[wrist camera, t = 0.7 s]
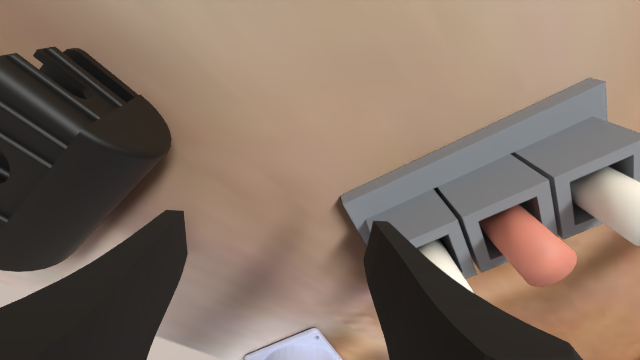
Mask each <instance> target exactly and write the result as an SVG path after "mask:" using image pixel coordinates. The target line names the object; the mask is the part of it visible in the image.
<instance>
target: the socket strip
mask: <svg viewBox="0 0 640 360" xmlns="http://www.w3.org/2000/svg"><path fill="white" fill-rule="evenodd" d="M606 166H608V167H610V168H612V169H614V170H616V171H618V172H620V173H622V174H624V175H626V176H628V177H630V178H632V179H634V180H636V181H638V182H640V133H638V132H635V131H632V130H630V129H627V128H624V127H621V126H618V125H616V124H613V123H610V122H608V120H607V98H606V82H605V81H601V80H597V79H592V78H588V79H586V80H584V81H582V82H580V83H578V84H576V85H574V86H571V87H569V88H567V89H565V90H563V91H561V92H559V93H557V94H555V95H552V96H550V97H548V98H546V99H544V100H542V101H540V102H538V103H536V104H533V105H531V106H529V107H527V108H525V109H523V110H521V111H519V112H516V113H514V114H512V115H510V116H508V117H506V118H504V119H502V120H500V121H497V122H495V123H493V124H491V125H489V126H487V127H485V128H483V129H481V130H478V131H476V132H474V133H472V134H470V135H468V136H466V137H464V138H461V139H459V140H457V141H455V142H453V143H451V144H449V145H447V146H445V147H442V148H440V149H438V150H436V151H434V152H432V153H430V154H428V155H426V156H423V157H421V158H419V159H417V160H415V161H413V162H411V163H409V164H406V165H404V166H402V167H400V168H398V169H396V170H394V171H392V172H390V173H387V174H385V175H383V176H381V177H379V178H377V179H375V180H373V181H371V182H368V183H366V184H364V185H362V186H360V187H358V188H356V189H354V190H351V191H349V192H347V193H345V194H343V195H341V199H342V203H343V206H344V207H345V209H346V211H347V213H348V214H349V216H350V218H351V220H352V221H353V223H354V225H355V227H356V228H357V230H358V232H359V234H360V235H361V237H362V239H363V241H364V242H365V244H366V246H367V244H368V240H369V236H370V232H371V228H372V223H373V221H388V222H389V223H390V224H392V225H393V226H394V227H395V228H396V229H397V230H398V231H399V232H400V233H401V234H402V235H403V236H404V237H405V238H406V239H407V240H408V241H409V242H410V243H412V244H413V245H414V246H415V247H416V248H417V247H420V246H422V245H424V244H427V243H429V242H431V241H434V240H436V239H439V240H440V241H441V243H442V244H443V246H444V247H445V249H446V250H447V252H448V253H449V255H450V257H451V258H452V260H453V261H454V263H455V264H456V266H457V267H458V269H459V270H460V272H461V274H462V275H463V277H464V278H465V279H467V278H470V277H472V276H474V275H477V273H476V270H475V267H474V264H473V262H474V263H475V265H476V266H477V267H478V269H479V270H480V271H481V273H482V272H484V271H487V270H489V269H492V268H494V267H497V266H499V265H502V264H504V263H507V262H509V261H508V260H507V259H506V258H505V256H504V255H503V254H502V253H501V252H500V251H499V249H498V248H497V247H496V246H495V245H494V244H493V242H492V241H491V240H490V239H489V238H488V237H487V236H486V234H485V233H484V232H483V231H482V230H481V228H480V224H479V222H480V220H483V219H485V218H487V217H490V216H492V215H494V214H497V213H499V212H501V211H504V210H506V209H508V208H511V207H513V206H515V205H518V204H519V205H521V206H522V207H523V208H524V209H525V210H526V211H528V212H529V213H530V214H531V215H532V216H533V217H535V218H536V219H537V220H538V221H539V222H540V223H541V224H543V225H544V226H545V227H546V228H547V229H548V230H550V231H551V232H552V233H553V234H554V235H555V236H557V237H558V235H559V236H560V237H561V238H562V239H563V240H564V239H566V238H569V237H571V236H574V235H576V234H578V233H581V232H583V231H586V230H588V229H591V228H593V227H596V226H598V225H601V224H603V223H602V222H601V221H599V220H598V219H596V218H595V217H593V216H592V215H591V214H589V213H588V212H586V211H585V210H583V209H582V208H580V207H579V206H578V205H576V204H575V203H573V202H572V198H571V190H570V182H571V181H574V180H576V179H578V178H581V177H583V176H585V175H588V174H590V173H592V172H595V171H597V170H599V169H602V168H604V167H606ZM434 189H435V190H434ZM472 260H473V262H472Z"/></svg>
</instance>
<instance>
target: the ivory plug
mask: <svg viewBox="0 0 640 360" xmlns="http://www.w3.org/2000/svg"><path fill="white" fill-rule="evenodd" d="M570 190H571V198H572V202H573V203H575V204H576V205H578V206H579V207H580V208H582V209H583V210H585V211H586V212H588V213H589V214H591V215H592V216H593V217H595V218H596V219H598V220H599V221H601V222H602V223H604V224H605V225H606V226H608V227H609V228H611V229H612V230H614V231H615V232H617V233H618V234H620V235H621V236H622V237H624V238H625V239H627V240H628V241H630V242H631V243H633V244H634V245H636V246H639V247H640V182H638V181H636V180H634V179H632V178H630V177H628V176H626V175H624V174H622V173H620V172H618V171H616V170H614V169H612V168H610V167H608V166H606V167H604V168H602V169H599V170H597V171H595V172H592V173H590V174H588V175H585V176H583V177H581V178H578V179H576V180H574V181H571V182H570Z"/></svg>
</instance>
